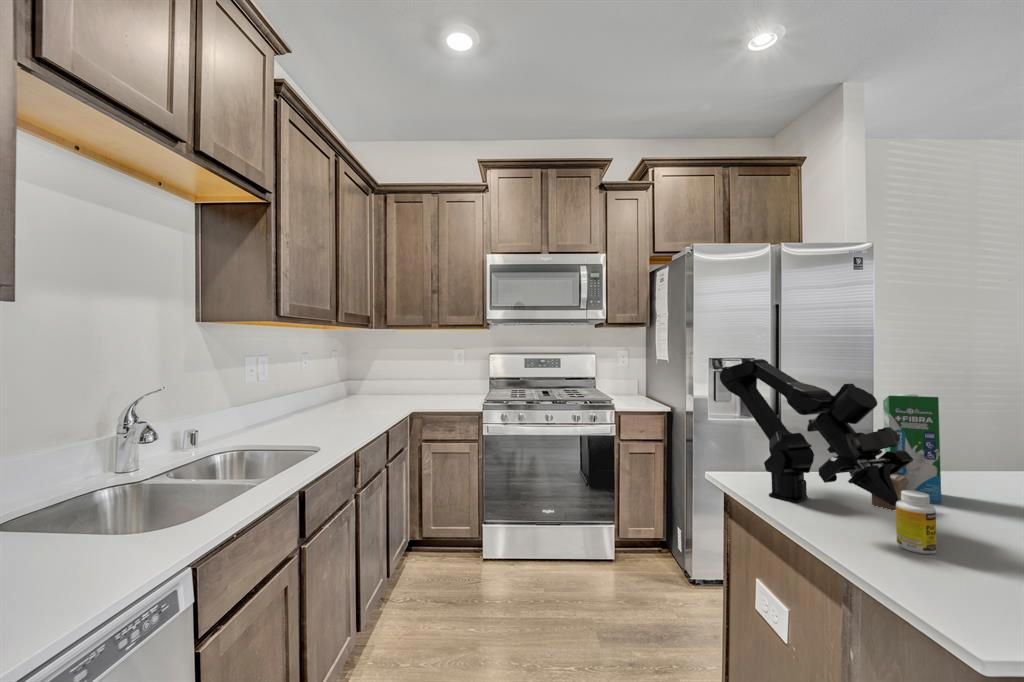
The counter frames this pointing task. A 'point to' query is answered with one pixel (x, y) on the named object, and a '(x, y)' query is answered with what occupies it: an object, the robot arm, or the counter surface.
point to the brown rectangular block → (899, 486)
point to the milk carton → (917, 440)
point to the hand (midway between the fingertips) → (896, 504)
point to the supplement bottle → (916, 522)
